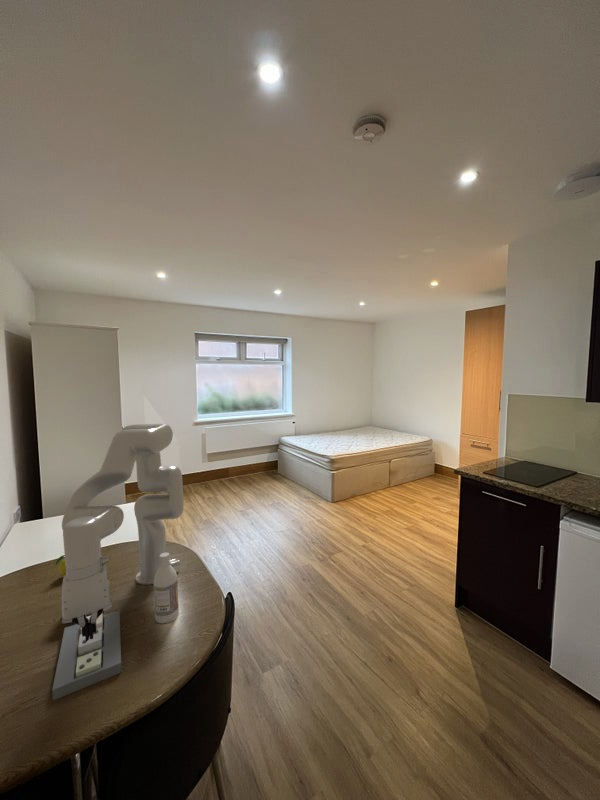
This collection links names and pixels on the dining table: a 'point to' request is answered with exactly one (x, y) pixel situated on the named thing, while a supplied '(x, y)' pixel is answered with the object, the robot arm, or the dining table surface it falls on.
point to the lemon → (62, 566)
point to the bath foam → (165, 591)
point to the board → (69, 654)
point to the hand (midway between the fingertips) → (89, 636)
